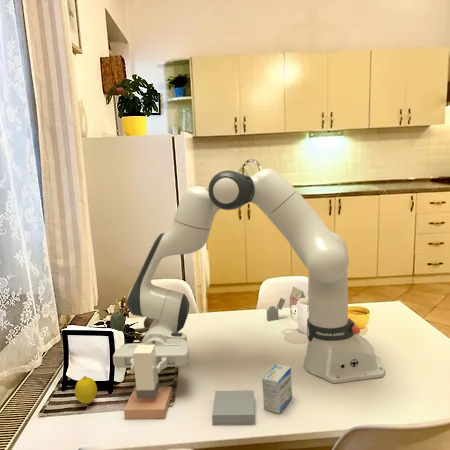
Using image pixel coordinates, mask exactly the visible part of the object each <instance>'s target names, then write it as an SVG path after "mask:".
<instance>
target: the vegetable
mask: <svg viewBox="0 0 450 450" xmlns="http://www.w3.org/2000/svg"><path fill="white" fill-rule="evenodd" d="M114 300H115V302H114V307H113V312H112V313H111V315H110V319H109V323H110V329H111V328H112V329H115V330H118V331H122V332H123V333H124V329H125V316H124V314H123V313H122V311H121V306H120V302H119V301H118V299H116V298H115V299H114ZM124 339H125V338H124ZM125 344H127V341H126V339H125Z"/></svg>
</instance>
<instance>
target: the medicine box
mask: <svg viewBox="0 0 450 450" xmlns="http://www.w3.org/2000/svg"><path fill="white" fill-rule="evenodd" d="M261 382H262V396H263V397H262V399H263V400H262V401H263V409H264V410H266V411H268V412H272V413H275V414H278V415H279V414H281V413H282V411H283V410H284V409H285V408H286V406H287V404H288V403H289V401H290V400H291V399H292V398H293V393H292V392H293V390H292V388H293V387H292V367H289V366H286V365H283V364H277V363H276V364H275V365H274V366H273V367H272V368H271V369H270V370H269V371H268V372H267V373H266V374H265V376H264V377H263V378H262V380H261Z"/></svg>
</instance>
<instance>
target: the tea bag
mask: <svg viewBox="0 0 450 450" xmlns="http://www.w3.org/2000/svg"><path fill="white" fill-rule="evenodd" d="M291 290H292V291H291V293H290V296H289V309H290V308H291V306H292V305H296V304H297V301H298V300H299V299H301V298H306V299H307V297H306V296H305V294H304V291H303V290H302V289H299V288H297V287H296V286H293V287H292V289H291ZM295 312H296V310H295Z"/></svg>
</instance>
